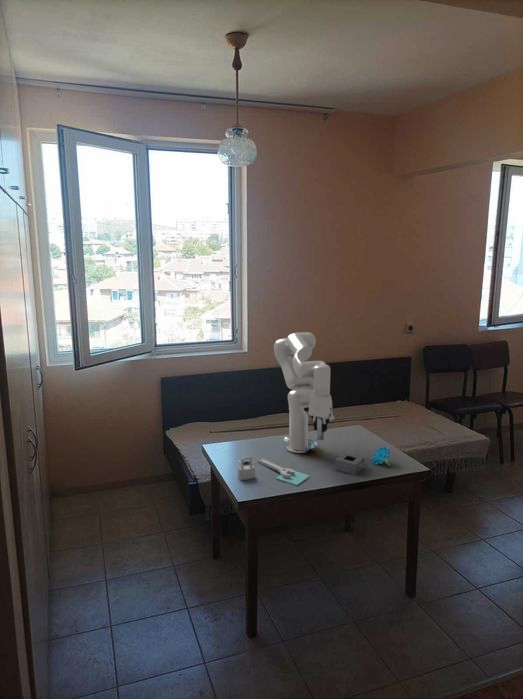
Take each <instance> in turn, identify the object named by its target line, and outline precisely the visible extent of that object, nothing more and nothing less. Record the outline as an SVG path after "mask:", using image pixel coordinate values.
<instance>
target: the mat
mask: <svg viewBox="0 0 523 699" xmlns="http://www.w3.org/2000/svg"><path fill="white" fill-rule="evenodd" d="M294 471H295V475H292V474H291V478H285V477H282V475H281V474H280V475H278V476H277V477H275V479H276V480H277V481H280V482H284V483H287V484H289V485H294V486H296V487H298V486H299V485H300V484H303V482H305V481H306V480H308V479H309V478H310V477H311V475H310V474H305V473H303V472H299V471H296V470H294ZM288 474H290V473H288Z"/></svg>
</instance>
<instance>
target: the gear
mask: <svg viewBox="0 0 523 699" xmlns="http://www.w3.org/2000/svg"><path fill="white" fill-rule="evenodd" d="M390 455H391V451H390V448H389V447H387V446H385V445H384V446H383V447H382V446H380V447H379V448H376V449H375V452H373V453H372V457H371V460H372V463H373V464H375V465H377V466H378V465H379V464H380V465H383V463H384V464H385V465H387V466H389V467H390V466H391V464H390V462H389V460H388V459H389V458H390Z"/></svg>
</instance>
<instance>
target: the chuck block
mask: <svg viewBox="0 0 523 699" xmlns="http://www.w3.org/2000/svg"><path fill="white" fill-rule="evenodd" d="M365 459H366V457H363V456H360V455H356V454H352V453H348V452H344V453H343V454H340V456H338V457H337V458H335V460H334V461H335V462H334V464H335V466H334V467H335V468H334V469H335V470H336V471H338V472H339V471H340V472H342V473H345V474H348V475H349V474H351V475H354V476H356V475H357V474H358V473H359V472H361V471H362V470H363V469H364V468H365Z"/></svg>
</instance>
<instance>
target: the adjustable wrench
mask: <svg viewBox="0 0 523 699" xmlns="http://www.w3.org/2000/svg"><path fill="white" fill-rule="evenodd" d="M256 463H258V464H261V465H263V466H265V467H267V468H270V469H271V470H274V471H276V472H278V473H279V474H280V475H282V477H285V478H291V474H292V475H295V471H296V470H294V469H291V468H285V467H281V466H279V465H277V464H275V463H273V462H272V461H270V460H267V459H265V458H262V457H257V458H256ZM288 473H290V474H288Z"/></svg>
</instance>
